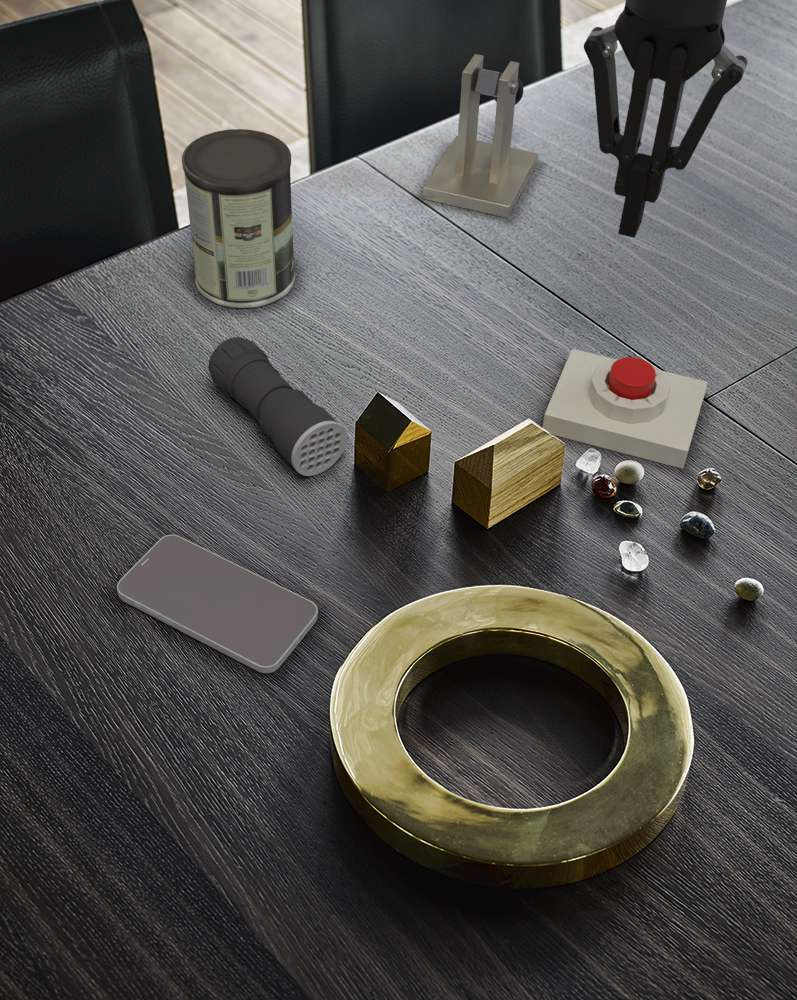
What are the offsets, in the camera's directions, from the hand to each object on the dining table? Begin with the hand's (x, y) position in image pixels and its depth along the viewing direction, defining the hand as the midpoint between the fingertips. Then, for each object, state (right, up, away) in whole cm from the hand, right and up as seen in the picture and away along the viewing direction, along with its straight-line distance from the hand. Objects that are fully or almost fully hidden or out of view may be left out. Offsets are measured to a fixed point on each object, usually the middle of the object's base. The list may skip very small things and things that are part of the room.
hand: (629, 227), depth 110 cm
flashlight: (-31, -17, +3) cm, 36 cm away
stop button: (+1, -14, +3) cm, 14 cm away
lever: (-10, +20, +29) cm, 37 cm away
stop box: (0, -16, +5) cm, 17 cm away
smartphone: (-35, -32, -12) cm, 49 cm away
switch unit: (-11, +12, +32) cm, 36 cm away
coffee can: (-36, -1, +18) cm, 40 cm away
